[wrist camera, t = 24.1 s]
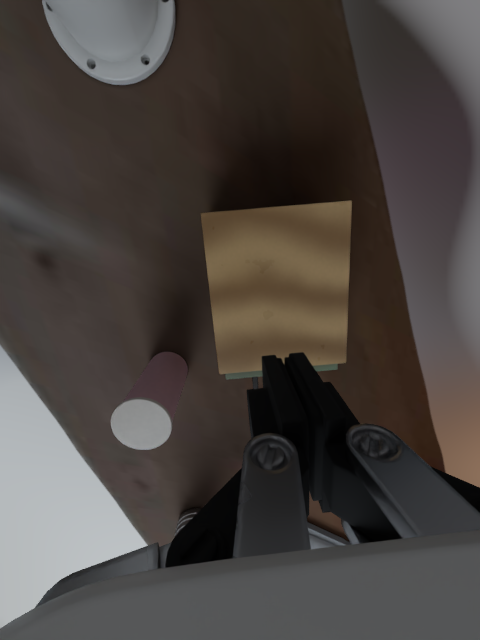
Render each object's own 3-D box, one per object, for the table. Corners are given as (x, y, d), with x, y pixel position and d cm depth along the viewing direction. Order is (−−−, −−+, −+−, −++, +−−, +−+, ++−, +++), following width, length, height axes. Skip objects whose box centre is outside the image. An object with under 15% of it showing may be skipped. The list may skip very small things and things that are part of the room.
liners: (138, 365, 38) (97, 419, 26) (171, 342, 37) (144, 388, 25) (165, 395, 39) (137, 459, 28) (197, 373, 38) (183, 430, 27)
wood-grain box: (320, 336, 37) (346, 363, 29) (221, 345, 37) (219, 374, 29) (321, 210, 33) (352, 200, 24) (207, 220, 32) (200, 212, 24)
